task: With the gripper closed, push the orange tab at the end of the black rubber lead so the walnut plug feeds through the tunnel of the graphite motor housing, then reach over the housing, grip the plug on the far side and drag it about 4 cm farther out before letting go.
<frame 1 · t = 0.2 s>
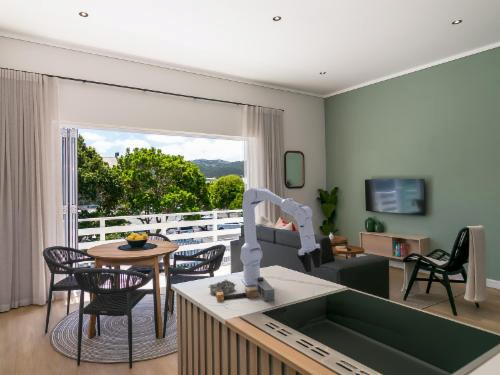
hand: (313, 269, 139), 10 cm above the counter, tool pointing down, fingers open, 7 cm apart
motor housing: (264, 294, 142), on the counter
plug: (251, 295, 141), on the counter
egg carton: (222, 292, 149), on the counter
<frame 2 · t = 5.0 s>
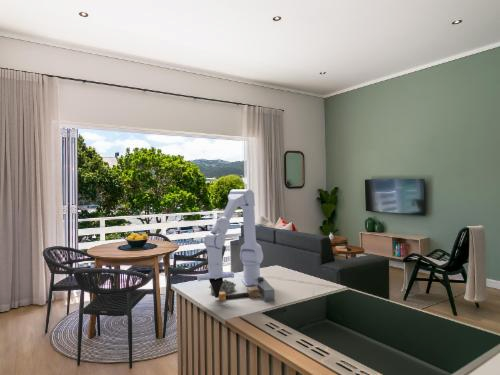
hand: (216, 296, 138), 1 cm above the counter, tool pointing down, fingers closed
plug: (253, 295, 141), on the counter, touching gripper
everything else where it was.
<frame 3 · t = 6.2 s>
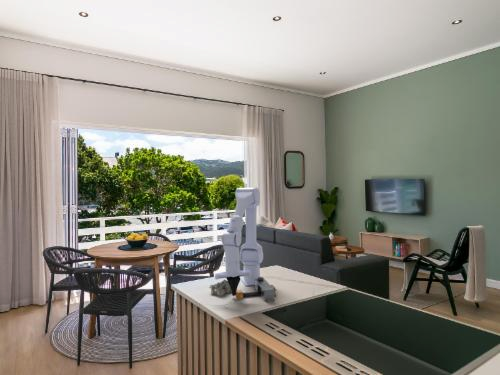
hand: (233, 294, 140), 1 cm above the counter, tool pointing down, fingers closed
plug: (269, 293, 143), on the counter, touching gripper
everything else where it was.
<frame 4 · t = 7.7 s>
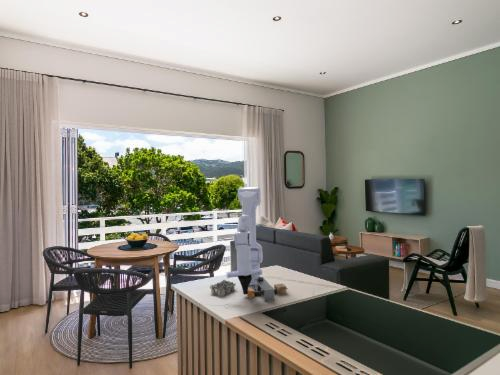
hand: (245, 293, 141), 1 cm above the counter, tool pointing down, fingers closed
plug: (280, 292, 144), on the counter, touching gripper
everything else where it was.
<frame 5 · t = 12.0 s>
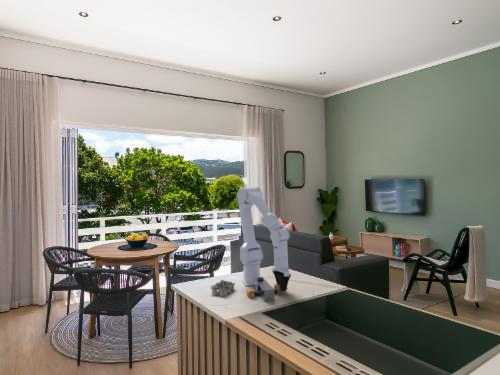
hand: (281, 289, 144), 1 cm above the counter, tool pointing down, fingers closed on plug, 4 cm apart
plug: (280, 292, 144), on the counter, touching gripper
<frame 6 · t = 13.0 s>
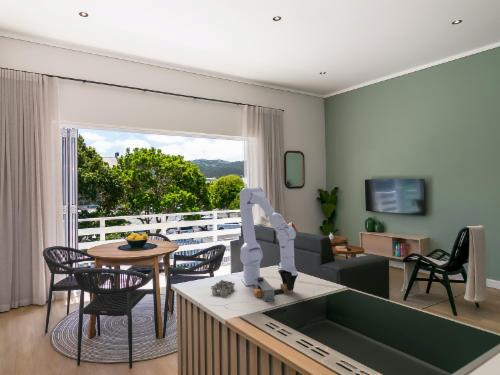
hand: (288, 288, 145), 1 cm above the counter, tool pointing down, fingers closed on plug, 4 cm apart
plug: (286, 291, 144), on the counter, touching gripper
when the fingers open (1 cm above the counter, at t = 14.4 s): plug stays where it is, on the counter.
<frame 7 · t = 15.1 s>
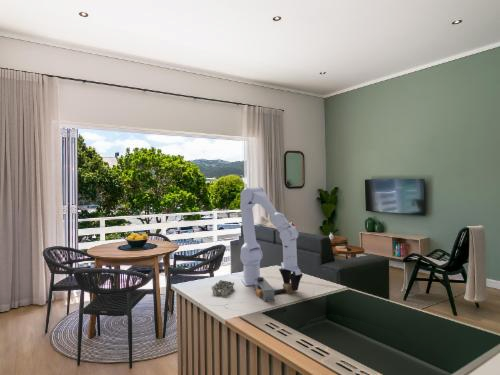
hand: (290, 287, 145), 2 cm above the counter, tool pointing down, fingers open, 7 cm apart
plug: (289, 291, 145), on the counter
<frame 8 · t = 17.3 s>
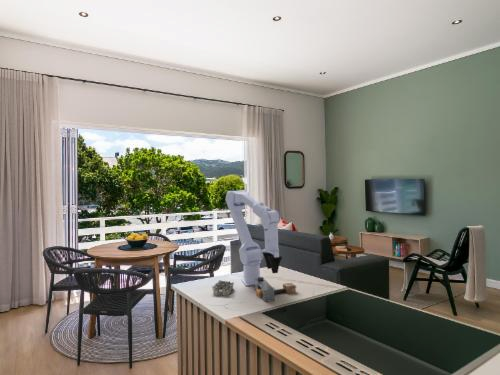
hand: (272, 270, 147), 8 cm above the counter, tool pointing down, fingers open, 7 cm apart
at the end: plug 1.1 cm from the target spot, on the counter; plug tilted 0°; the gripper is holding nothing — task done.
